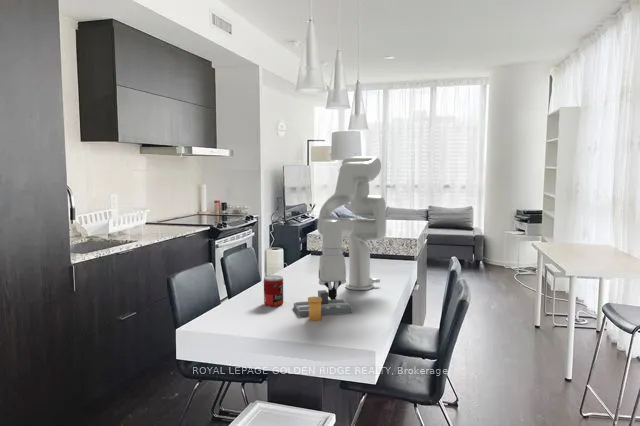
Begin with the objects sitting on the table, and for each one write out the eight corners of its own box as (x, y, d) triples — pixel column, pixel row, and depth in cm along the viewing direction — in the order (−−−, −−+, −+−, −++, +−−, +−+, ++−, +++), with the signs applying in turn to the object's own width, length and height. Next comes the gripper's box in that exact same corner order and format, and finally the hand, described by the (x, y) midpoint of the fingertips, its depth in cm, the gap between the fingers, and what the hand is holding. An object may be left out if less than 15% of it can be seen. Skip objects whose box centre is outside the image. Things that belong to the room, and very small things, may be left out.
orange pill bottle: (320, 316, 171) (320, 296, 170) (323, 320, 166) (323, 299, 165) (306, 317, 170) (306, 297, 169) (309, 321, 164) (309, 300, 164)
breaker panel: (342, 304, 186) (342, 296, 186) (351, 312, 175) (351, 304, 175) (293, 307, 182) (293, 300, 182) (299, 316, 170) (299, 308, 170)
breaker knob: (325, 302, 181) (325, 290, 180) (328, 305, 177) (328, 292, 176) (318, 303, 180) (317, 290, 180) (320, 306, 176) (320, 293, 175)
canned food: (275, 307, 182) (275, 280, 181) (260, 305, 186) (259, 278, 185) (287, 303, 188) (287, 276, 187) (271, 300, 193) (271, 274, 192)
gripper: (348, 249, 183) (348, 295, 184) (311, 251, 179) (311, 297, 181) (354, 252, 176) (354, 300, 177) (315, 254, 172) (315, 302, 174)
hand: (332, 298), depth 179 cm, fingers closed
